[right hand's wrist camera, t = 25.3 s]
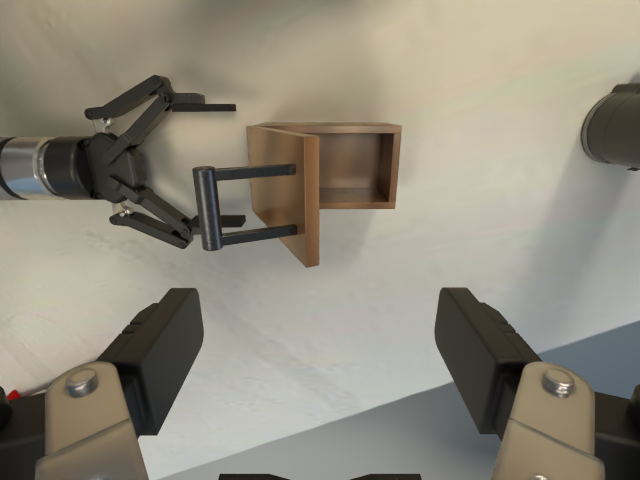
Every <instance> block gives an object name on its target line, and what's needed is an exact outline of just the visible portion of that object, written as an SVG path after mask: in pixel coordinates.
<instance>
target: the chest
mask: <svg viewBox="0 0 640 480" xmlns="http://www.w3.org/2000/svg"><path fill="white" fill-rule="evenodd" d="M254 126H259V127H265V128H272V129H278V130H284V131H290V132H296V133H302V134H309V135H315V136H319V209H395V202H396V191H397V178H398V166H399V154H400V141H401V129H402V126H400V125H395V124H390V123H262V124H258V125H254Z"/></svg>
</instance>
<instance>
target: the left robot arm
mask: <svg viewBox="0 0 640 480" xmlns="http://www.w3.org/2000/svg"><path fill="white" fill-rule="evenodd" d="M156 95H159V97H158V98H157V99H156V100H155V101H154V102H153V103H152V104H151V105H150V107H149V108H148V109H147V110H146V111H145V112H144V113H143V114H142V115H141V116H140V117H139V118H138V120H137V121H136V122H135V123H134V124H133V125H132V126H131V127H130V128H129V129H128V130H127V131H126V132H125V133H124V134H122V135H121V136H120V137H117V136H116V135H114V134H113V133H110V132H109V127H110V126H112V125H113V124H114V123H115V118H117V117H120V116H122V115H124V114H126V113H128V112H129V111H131V110H133V109H134V108H136V107H138V106H139V105H141V104H143V103H144V102H146V101H148V100H149V99H151V98H153V97H154V96H156ZM171 110H172V112H199V111H236V104H205V98H204V95H202V94H198V93H175V92H174V91H173V89H172V87H171V82H170V80H169V79H168V78H166V77H162V76H157V75H154V76H151V77H150V78H148V79H147V80H145V81H143V82H142V83H140V84H138V85H137V86H135V87H134V88H132V89H130V90H129V91H127V92H125V93H124V94H122V95H121V96H119V97H117V98H116V99H114V100H112V101H111V102H109V103H108V104H106V105H104V106H103V107H96V108H88V109H86V110H85V112H84V113H85V116H86V118H87V119H89V120H92V121H93V124H94V127H95V130H96V133H97V134H95V135H94V136H80V137H57V138H56V137H12V138H0V200H65V199H69V200H107V201H109V202H111V203H112V205H113V214H114V215H113V216H111V217H110V218H109V220H110V222H111V223H112V224H113V225H121V226H129V227H131V228H134V229H136V230H138V231H141V232H143V233H145V234H148V235H150V236H152V237H155V238H157V239H159V240H162V241H164V242H167V243H169V244H171V245H174V246H176V247H178V248H181V249H185V248H186V247H187V246H188V245H189V244H190V243H191V242H192V241H193V235H195V234H201V230H200V223H199V216H195V217H194V218H193V219H189V218H188V217H187V216H185V215H184V214H182V213H181V212H180V211H178V210H177V209H175V208H174V207H173V206H171V205H170V204H168V203H167V202H166V201H164V200H163V199H162V198H160V197H159V196H157V195H156V194H155V193H154V192H153V190H152V189H151V188H149V187H148V186H146V185H145V184H144V182H145V180H147V179H146V173H145V171H144V169H143V157H142V154H140V153H139V152H138V150H137V148H138V147H139V146H140V145H141V144H142V142H143V141H144V139H145V138H146V137H147V135H148V134H149V133H150V132H151V131H152V130H153V129H154V128H155V127H156V126H157V125H158V124H159V123H160V122H161V121H162V120H163V119H164V117H165V116H166V115H167V114H168V113H169V112H170V111H171ZM127 199H129V200H130V201H132V202H133V203H135V204H139V205H141V206H142V207H144V208H145V209H147V210H148V211H150V212H151V213H152V214H154V215H155V216H157V217H158V218H159V219H161V220H162V221H164V222H165V223H167V224H165V223H163V222H161V221H158V220H156V219H154V218H152V217H149V216H147V215H145V214H142V213H139V212H134V209H133V208H130V207H128V206H126V205H125V203H124V201H125V200H127ZM220 219H221V227H242V226H243V224H244V223H245V221H246V218H245V215H220Z"/></svg>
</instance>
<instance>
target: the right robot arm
mask: <svg viewBox="0 0 640 480" xmlns="http://www.w3.org/2000/svg"><path fill="white" fill-rule="evenodd" d="M582 144H583V147H584V150H585V151H586V153H587V154H588V155H589V156H590V157H591V158H592V159H594V160H596V161H598V162H602V163H608V164H615V165H616V164H617V165H623V166H628V167H632V168H629V169H627V170H632V171H637V170H640V83H632V84H620V85H617V86H616V87H615V89H614V91H613V92H612V93H611V94H609V95H607V96H606V97H604V98H603V99H602V100H600V101H599V102H598V103H597V104H596V105H595V106H594V107H593V109H592V110H591V111H590V113H589V114H588V116H587V118H586V120H585V122H584V125H583V129H582ZM203 336H204V329H203V321H202V314H201V307H200V300H199V294H198V291H197V289H196V288H171V289H170V290H169V291H168V292H167V293H166V295H165V296H164V297H163V298H162V299H161V301H160V302H159V303H153V304H152V305H150V306H148V307H147V308H145V309H144V310H142V311H140V312H139V313H138V314H137V315H136V316H135V317H134V319H133V320H132V321H131V322H130V325H127V326H126V328H125V329H124V330H123V331H122V334H119V335H118V336H117V338H116V339H115V340H114V341H113V342H112V343H111V344H110V345H109V347H108V348H107V349H106V350H105V351H104V352H103V353H102V354H101V356H100V357H99V358H98V359H97V360H96V361H95V362H91V363H87V364H84V365H80V366H78V367H75V368H73V369H71V370H69V371H67V372H65V373H64V374H62V375H61V376H59V377H58V378H57V379H56V380H54V381H53V382H52V384H51V385H50V386H49V387H48V389H47V391H46V392H44V393H39V394H35V395H30V396H26V397H21V398H17V399H12V400H8V399H7V396H6V394H5V392H4V389H3V388H2V387H1V386H0V480H149V478H148V475H147V471H146V468H145V464H144V461H143V457H142V454H141V450H140V447H139V443H138V438H139V436H140V435H158V433H159V431H160V429H161V427H162V425H163V423H164V421H165V419H166V417H167V415H168V413H169V411H170V409H171V407H172V405H173V403H174V401H175V399H176V397H177V395H178V393H179V391H180V389H181V387H182V385H183V383H184V381H185V379H186V377H187V375H188V373H189V371H190V369H191V367H192V365H193V363H194V361H195V359H196V357H197V355H198V353H199V351H200V349H201V346H202V343H203ZM435 341H436V345H437V347H438V350H439V352H440V354H441V356H442V358H443V360H444V362H445V364H446V366H447V368H448V370H449V372H450V374H451V376H452V378H453V380H454V382H455V384H456V386H457V388H458V390H459V392H460V394H461V396H462V398H463V400H464V402H465V404H466V406H467V408H468V410H469V412H470V414H471V416H472V418H473V420H474V422H475V424H476V426H477V428H478V430H479V432H480V434H498V436H499V438H500V440H501V442H502V444H501V447H500V450H499V454H498V457H497V461H496V464H495V468H494V471H493V475H492V478H491V480H640V385H638V386H636V387H635V390H634V392H633V394H632V397H631V399H625V398H621V397H617V396H612V395H607V394H603V393H598V392H594V391H593V389H592V387H591V386H590V385H589V384H588V382H587V381H586V380H584V379H583V378H582V377H581V376H579V375H578V374H576V373H575V372H573V371H571V370H569V369H567V368H565V367H562V366H560V365H556V364H553V363H548V362H543V361H542V360H541V359H540V358H539V357H538V355H537V354H536V353H535V352H534V351H533V350H532V349H531V348H530V346H529V345H528V344H527V343H526V342H525V341H524V340H523V339H522V337H521V336H520V335H519V334H518V333H516V332H515V330H514V328H513V327H512V326H511V325H510V324H508V322H507V320H506V319H505V318H504V317H503V316H502V315H501V314H500V313H499V311H497V310H495V309H494V308H492V307H490V306H489V305H487V304H486V303H479V301H478V300H477V299H476V298H475V297H474V295H473V294H472V293H471V292H470V291H469V289H468V288H442V289H441V291H440V294H439V301H438V308H437V315H436V322H435ZM218 480H289V479H285V478H282V477H278V476H275V475H271V474H220V476H219V479H218ZM351 480H422V479H421V476H420V474H369V475H365V476H362V477H358V478H354V479H351Z"/></svg>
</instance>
